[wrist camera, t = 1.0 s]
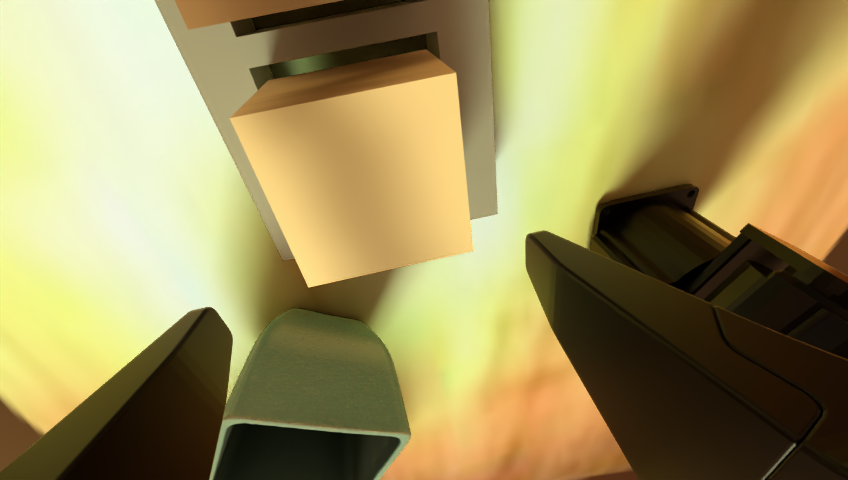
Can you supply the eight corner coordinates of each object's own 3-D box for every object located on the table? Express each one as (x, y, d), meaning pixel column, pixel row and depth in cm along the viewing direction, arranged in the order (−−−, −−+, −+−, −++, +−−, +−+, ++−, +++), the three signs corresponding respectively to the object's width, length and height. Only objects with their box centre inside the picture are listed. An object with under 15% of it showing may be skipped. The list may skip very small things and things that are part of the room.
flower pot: (239, 367, 26) (194, 513, 19) (264, 276, 22) (218, 418, 15) (357, 382, 29) (357, 513, 22) (398, 305, 25) (415, 434, 18)
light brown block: (425, 49, 14) (456, 72, 10) (444, 189, 17) (473, 250, 13) (268, 80, 13) (229, 118, 9) (319, 216, 17) (308, 287, 13)
